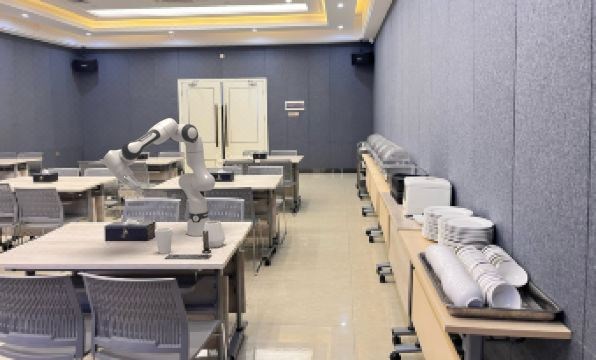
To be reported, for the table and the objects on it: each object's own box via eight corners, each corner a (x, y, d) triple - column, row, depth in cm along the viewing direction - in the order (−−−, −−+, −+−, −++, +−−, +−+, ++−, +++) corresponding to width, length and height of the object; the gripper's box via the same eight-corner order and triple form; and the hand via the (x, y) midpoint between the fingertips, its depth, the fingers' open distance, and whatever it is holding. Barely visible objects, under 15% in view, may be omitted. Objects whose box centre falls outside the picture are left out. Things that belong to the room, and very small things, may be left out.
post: (203, 251, 292) (202, 230, 290) (212, 251, 291) (211, 230, 290) (200, 253, 287) (199, 232, 285) (209, 253, 286) (208, 232, 285)
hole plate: (169, 255, 285) (169, 254, 285) (212, 255, 282) (212, 254, 282) (164, 259, 278) (164, 257, 278) (208, 259, 275) (208, 257, 275)
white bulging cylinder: (229, 243, 308) (228, 220, 307) (219, 249, 296) (218, 224, 294) (208, 242, 312) (207, 219, 310) (198, 248, 299) (197, 224, 298)
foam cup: (159, 255, 285) (158, 232, 284) (153, 252, 293) (152, 229, 291) (176, 252, 291) (174, 229, 289) (169, 249, 298) (168, 226, 297)
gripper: (127, 171, 281) (144, 190, 282) (132, 172, 301) (148, 190, 302) (117, 179, 280) (135, 198, 281) (123, 179, 300) (140, 198, 301)
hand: (142, 194), depth 292 cm, fingers open, 8 cm apart
